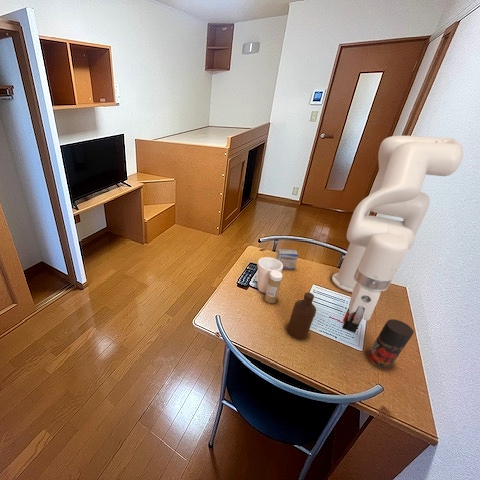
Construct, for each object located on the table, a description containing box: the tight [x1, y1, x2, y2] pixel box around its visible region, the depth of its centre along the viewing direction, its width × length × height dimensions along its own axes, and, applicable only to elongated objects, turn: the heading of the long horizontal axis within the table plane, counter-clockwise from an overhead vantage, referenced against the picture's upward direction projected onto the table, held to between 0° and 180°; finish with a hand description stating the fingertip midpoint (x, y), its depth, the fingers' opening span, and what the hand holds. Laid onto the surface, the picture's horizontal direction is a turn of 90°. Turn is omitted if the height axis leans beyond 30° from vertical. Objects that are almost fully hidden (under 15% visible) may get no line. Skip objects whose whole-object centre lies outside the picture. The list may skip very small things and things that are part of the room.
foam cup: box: [256, 256, 284, 294], centre depth 108 cm, size 10×9×13 cm
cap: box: [342, 311, 363, 323], centre depth 77 cm, size 4×4×3 cm
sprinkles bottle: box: [263, 271, 283, 304], centre depth 102 cm, size 5×5×14 cm
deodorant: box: [367, 318, 414, 370], centre depth 77 cm, size 6×6×15 cm
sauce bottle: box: [286, 291, 317, 341], centre depth 87 cm, size 6×6×18 cm
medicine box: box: [275, 248, 299, 270], centre depth 121 cm, size 8×4×9 cm, turn 81°
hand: (349, 324), depth 79 cm, fingers closed on cap, 3 cm apart
